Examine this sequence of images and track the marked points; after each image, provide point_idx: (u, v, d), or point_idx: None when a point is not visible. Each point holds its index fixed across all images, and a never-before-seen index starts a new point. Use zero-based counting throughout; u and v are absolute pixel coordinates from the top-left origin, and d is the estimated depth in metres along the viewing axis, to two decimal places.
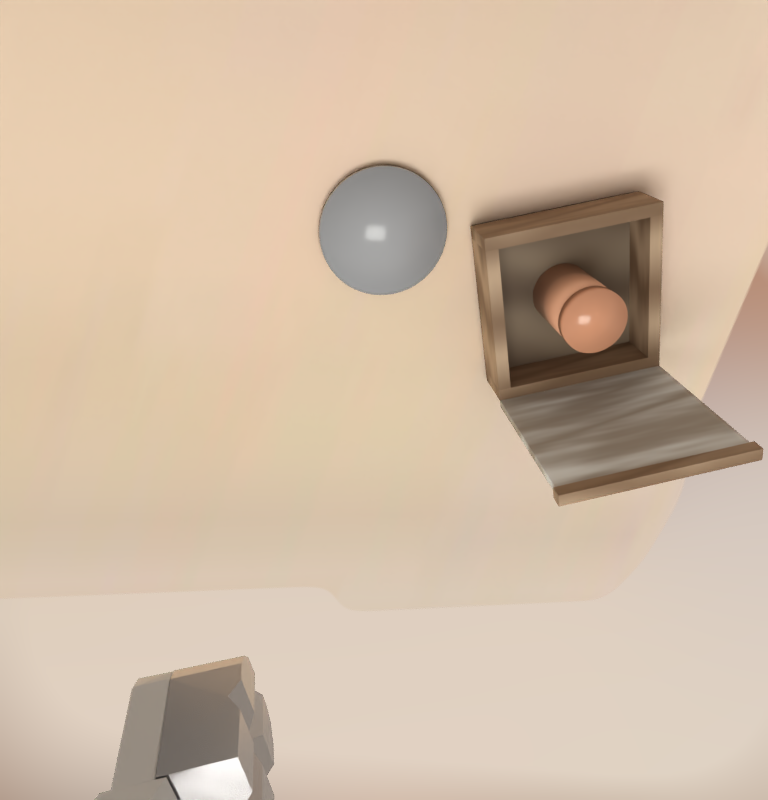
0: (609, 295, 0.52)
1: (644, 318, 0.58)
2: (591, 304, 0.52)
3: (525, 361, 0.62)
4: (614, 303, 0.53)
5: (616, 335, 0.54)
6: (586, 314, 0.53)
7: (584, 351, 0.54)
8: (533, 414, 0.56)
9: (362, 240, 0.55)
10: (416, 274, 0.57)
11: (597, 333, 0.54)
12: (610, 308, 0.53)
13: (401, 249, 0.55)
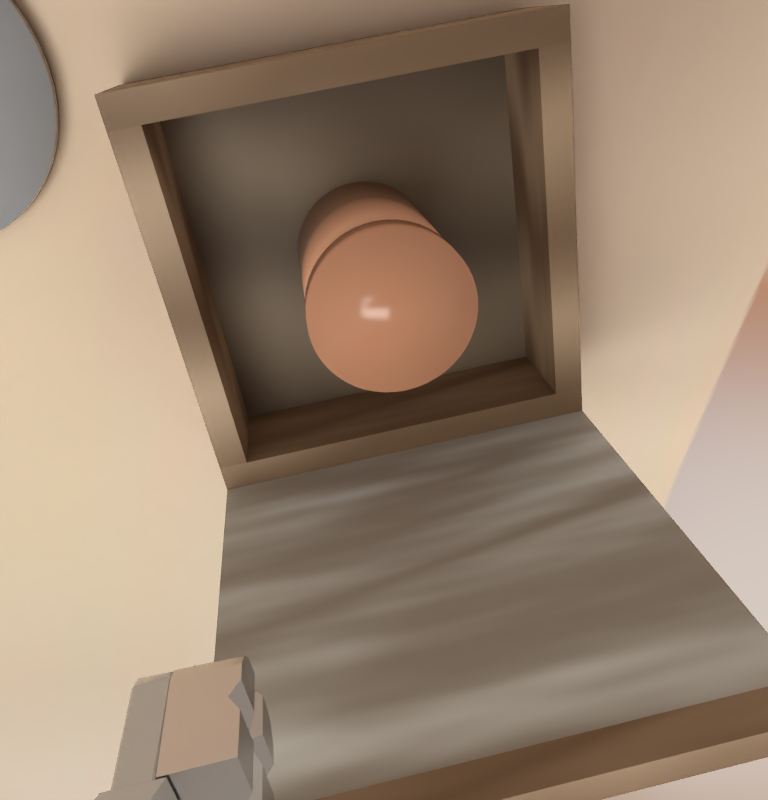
0: (422, 243, 0.20)
1: (545, 306, 0.26)
2: (374, 266, 0.20)
3: (305, 398, 0.29)
4: (438, 265, 0.20)
5: (454, 348, 0.21)
6: (366, 294, 0.20)
7: (375, 388, 0.22)
8: (275, 532, 0.24)
9: None
10: None
11: (403, 343, 0.21)
12: (429, 278, 0.20)
13: None
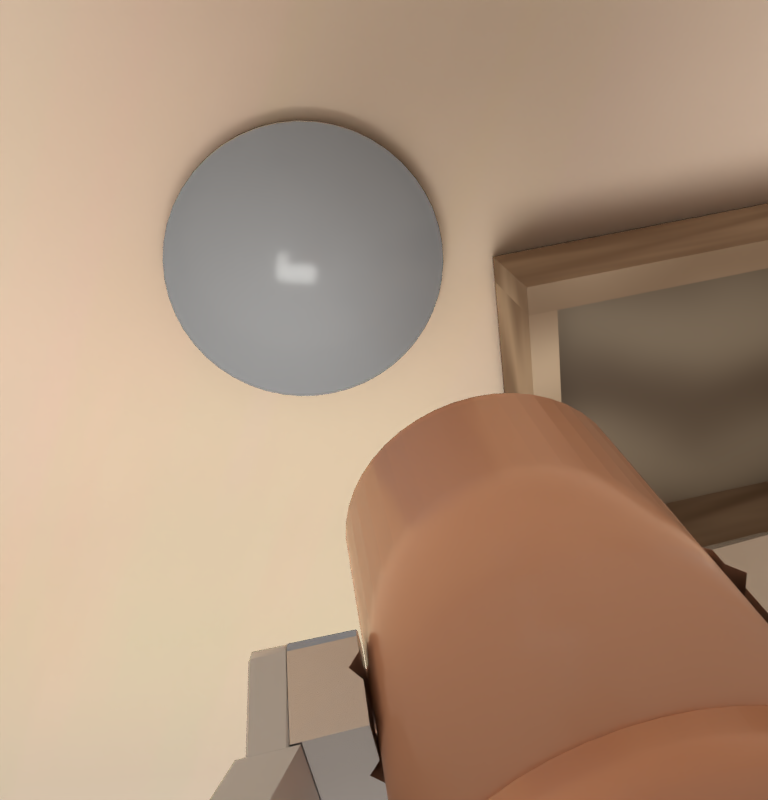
0: None
1: None
2: None
3: None
4: None
5: None
6: None
7: None
8: None
9: (259, 284, 0.25)
10: (378, 355, 0.27)
11: None
12: None
13: (345, 304, 0.26)
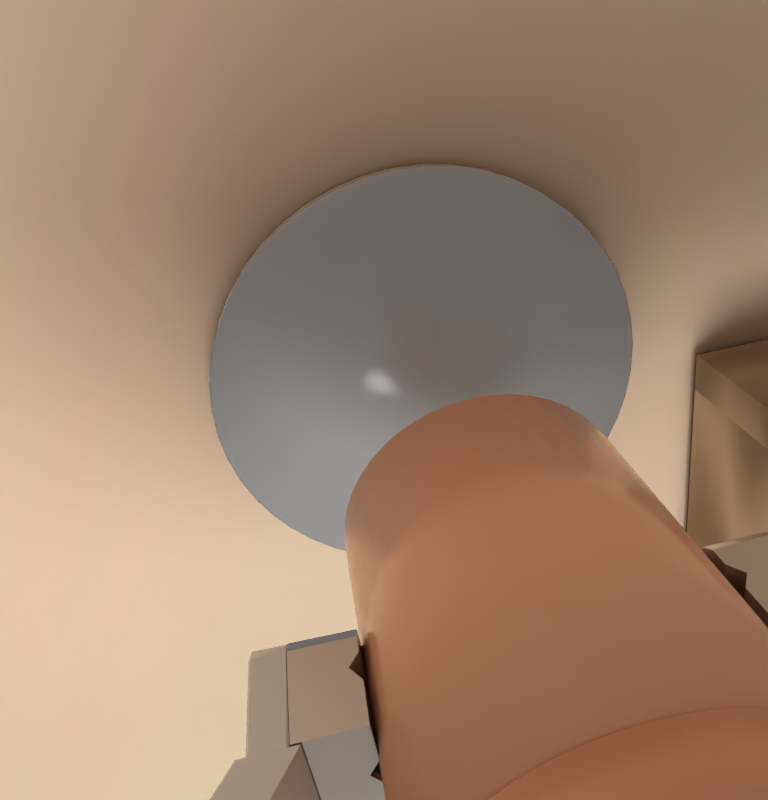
0: None
1: None
2: None
3: None
4: None
5: None
6: None
7: None
8: None
9: (356, 412, 0.17)
10: None
11: None
12: None
13: None
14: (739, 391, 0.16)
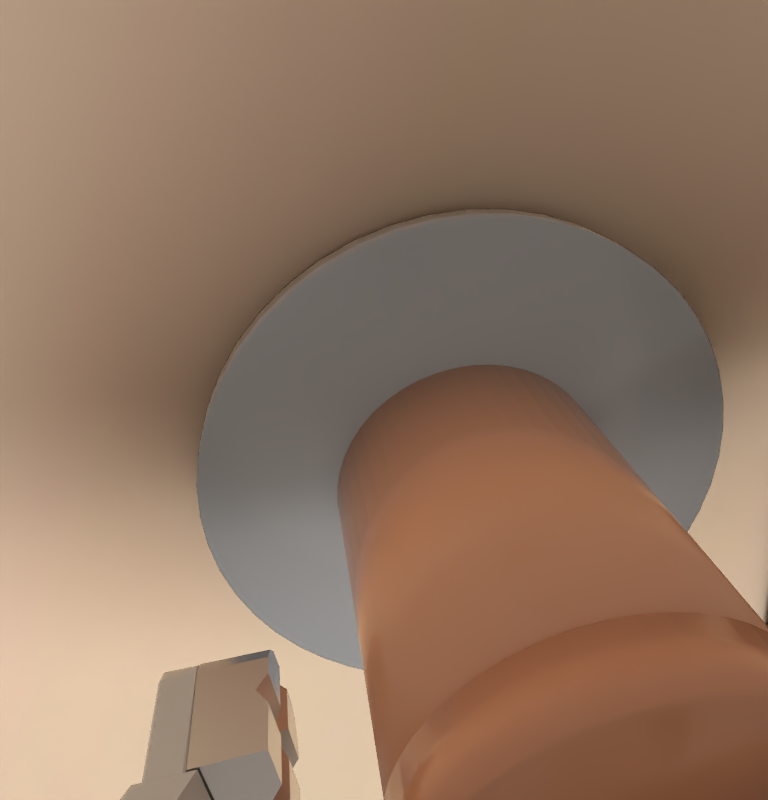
0: None
1: None
2: (617, 791, 0.06)
3: None
4: None
5: None
6: None
7: None
8: None
9: None
10: None
11: None
12: (766, 794, 0.07)
13: None
14: None
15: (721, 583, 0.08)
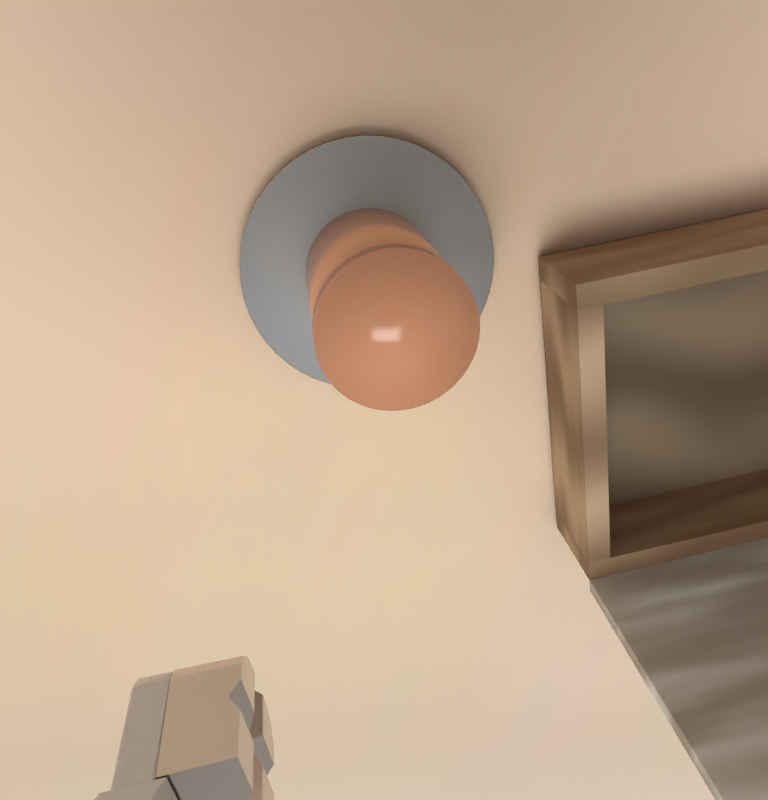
0: (425, 267, 0.21)
1: None
2: (379, 289, 0.21)
3: (627, 496, 0.34)
4: (441, 288, 0.21)
5: (456, 367, 0.22)
6: (371, 315, 0.21)
7: (380, 406, 0.22)
8: (663, 622, 0.29)
9: None
10: None
11: (407, 363, 0.22)
12: (432, 300, 0.21)
13: None
14: (554, 271, 0.27)
15: (433, 252, 0.22)
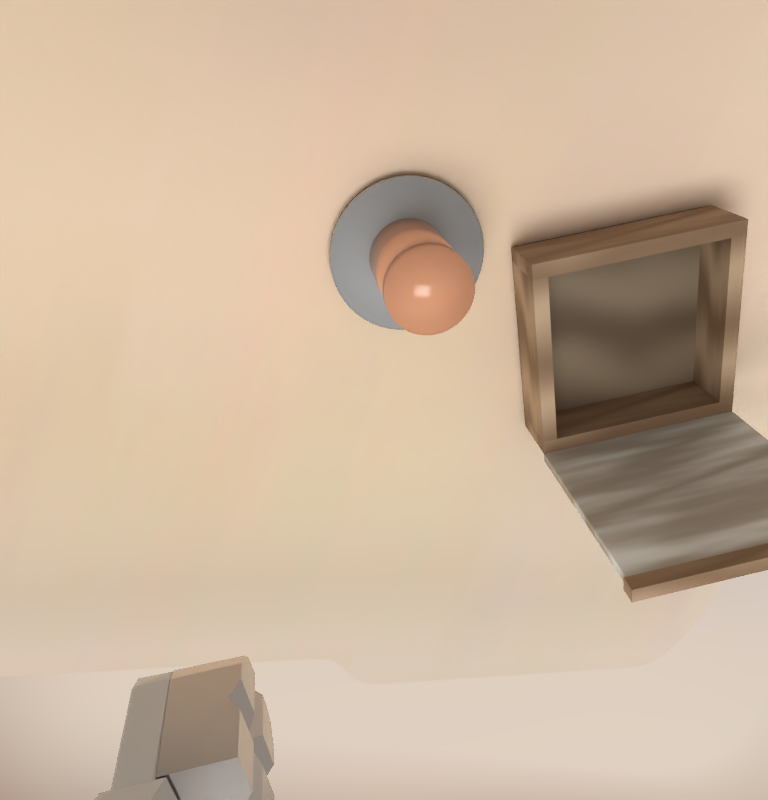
0: (445, 255, 0.38)
1: (716, 356, 0.49)
2: (421, 267, 0.38)
3: (571, 404, 0.52)
4: (454, 266, 0.39)
5: (462, 311, 0.40)
6: (416, 281, 0.39)
7: (419, 332, 0.40)
8: (586, 473, 0.47)
9: None
10: None
11: (435, 308, 0.40)
12: (449, 273, 0.39)
13: None
14: (520, 257, 0.45)
15: (449, 246, 0.40)
